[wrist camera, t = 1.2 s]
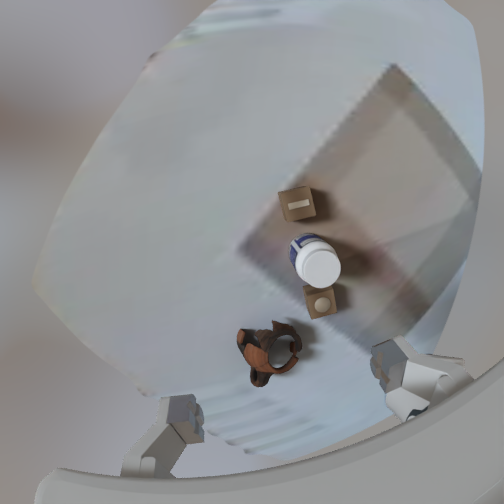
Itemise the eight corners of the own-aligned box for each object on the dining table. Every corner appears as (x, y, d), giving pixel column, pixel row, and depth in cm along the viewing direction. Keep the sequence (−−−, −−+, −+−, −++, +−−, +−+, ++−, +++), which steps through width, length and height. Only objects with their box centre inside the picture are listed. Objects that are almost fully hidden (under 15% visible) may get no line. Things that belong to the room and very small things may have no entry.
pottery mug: (236, 311, 45) (263, 325, 38) (282, 313, 50) (313, 324, 43) (226, 376, 45) (249, 399, 38) (271, 373, 50) (298, 391, 42)
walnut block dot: (326, 279, 44) (333, 289, 39) (330, 302, 44) (337, 313, 40) (302, 286, 44) (307, 296, 40) (307, 308, 45) (312, 320, 41)
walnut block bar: (304, 186, 40) (309, 186, 36) (310, 212, 41) (316, 215, 37) (277, 192, 40) (280, 193, 36) (284, 218, 41) (287, 222, 37)
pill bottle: (312, 274, 43) (328, 300, 34) (281, 258, 43) (289, 279, 33) (331, 243, 42) (353, 260, 32) (300, 225, 41) (314, 237, 32)
